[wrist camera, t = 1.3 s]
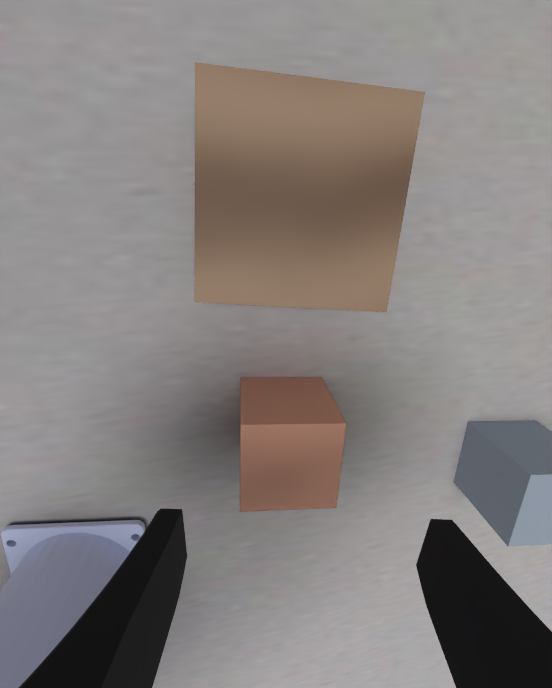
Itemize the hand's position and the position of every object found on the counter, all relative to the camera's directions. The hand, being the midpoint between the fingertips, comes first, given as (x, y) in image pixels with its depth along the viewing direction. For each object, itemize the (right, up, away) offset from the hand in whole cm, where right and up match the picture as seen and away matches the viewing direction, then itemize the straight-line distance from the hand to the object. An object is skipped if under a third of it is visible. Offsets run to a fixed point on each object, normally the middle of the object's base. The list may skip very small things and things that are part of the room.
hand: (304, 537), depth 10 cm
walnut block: (0, +12, +7) cm, 14 cm away
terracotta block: (-1, +2, +10) cm, 10 cm away
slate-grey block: (+13, -1, +12) cm, 18 cm away
